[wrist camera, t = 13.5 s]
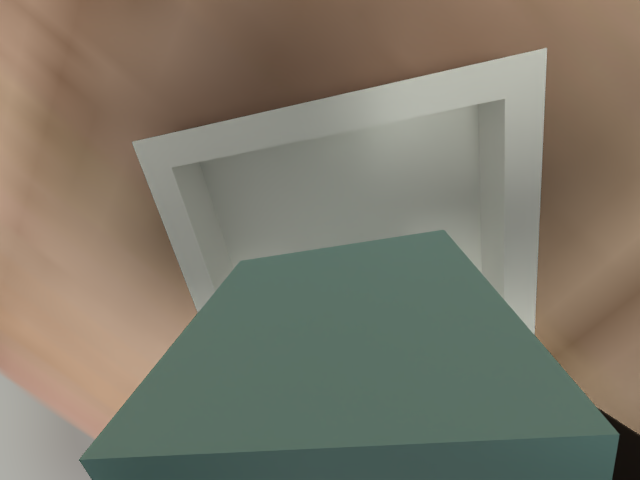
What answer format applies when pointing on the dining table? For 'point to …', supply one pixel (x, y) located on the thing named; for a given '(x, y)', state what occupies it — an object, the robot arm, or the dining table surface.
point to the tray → (365, 176)
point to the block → (357, 380)
